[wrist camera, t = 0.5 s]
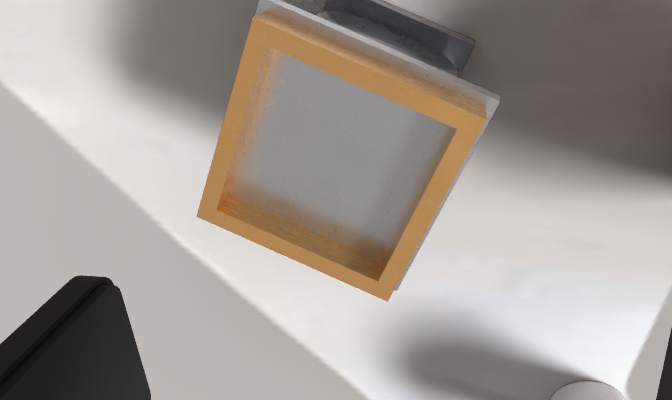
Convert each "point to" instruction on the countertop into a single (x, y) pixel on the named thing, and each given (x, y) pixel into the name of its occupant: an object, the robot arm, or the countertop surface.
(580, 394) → the coffee cup
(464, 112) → the tray on grey cylinder
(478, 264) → the countertop surface
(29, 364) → the robot arm
